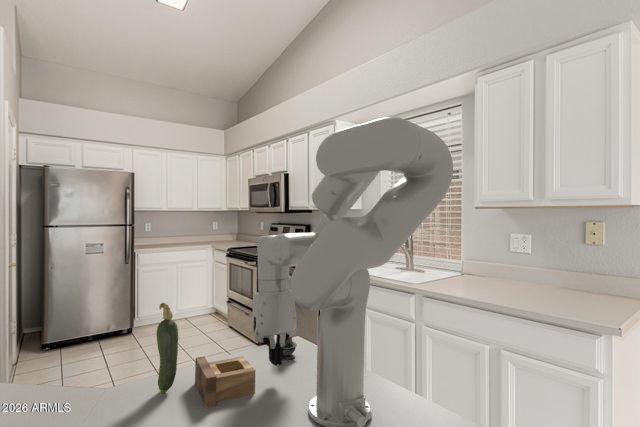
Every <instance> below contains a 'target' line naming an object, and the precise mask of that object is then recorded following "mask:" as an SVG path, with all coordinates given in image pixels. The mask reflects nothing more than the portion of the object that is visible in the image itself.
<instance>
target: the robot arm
mask: <svg viewBox="0 0 640 427" xmlns="http://www.w3.org/2000/svg"><path fill="white" fill-rule="evenodd" d="M315 162H316V166H317V169H318V170H319V171H320V173H321V174H322V175H324V176H323V177H322V179H321V181H320V182H318V183H319V184H318V185H317V186H316V187H315V189H314V190H313V192H312V194H311V201H312V203H313V205H314V206H315V208H316V209H317V211H319V213H321V214H322V216H321V218H320V220H319V222H318V223H317V224H316V226H315V227H314V228H313V229H312V230H311V232H290V233H289V232H287V233H280V234H274V235H273V234H272V235H271V234H270V235H269V234H268V235H262V236H259V238H257V244H256V245H257V247H256V248H257V282H258V283H257V285H258V286H257V287H258V288H257V289H258V292H257V291H256V292H254V298H253V304H252V313H251V314H252V315H251V316H252V317H251V329H252V332H253V341H254V342H255V343H263V344H265V345H266V346H267V347H268V360H269V362H270V363H271V364H272V365H273V366H274V367H276V366H281V365H282V364H283V361H282V359H283V347H284V345H285V342H286V341H287V340H288V338H289V337H292V338H293V337H294V336H296V335H297V325H298V324H297V311H296V304H297V305H298V306H299V307H300V308H302V309H303V310H307V311H311V312H313V311H320V314H319V317H318V323H317V348H316V349H317V350H316V352H317V353H316V354H317V355H316V356H317V357H316V395H315V396H314V397H313V398H312V399H311V400H310V401H309V403H308V414H309V416H310V418H311V419H312V420H313V421H314V422H315V423H317V424H318V425H320V426H323V427H365V425H366V423H367V422H368V421H369V420H370V419H371V418H372V416H373V414H372V407H371V405H370V404H369V402H368V401H367V399H366V396H365V395H364V391H365V390H364V387H365V386H364V385H365V382H364V380H365V379H364V377H365V376H364V374H365V333H366V332H365V331H366V330H365V329H366V314H367V313H366V311H367V305H368V299H369V295H370V288H371V277H370V272H369V270H370V269H375V268H378V267H381V266H383V265H385V264H387V263H388V262H389V261H390V260H391V259H392V258H393V256H394V255H395V254H396V253H397V252H398V251H399V250H400V249H401V247H402V246H403V245H404V244H405V243H406V242H407V241H408V240H409V238H411V236H412V235H413V234H414V233H415V231H416V230H417V229H418V228H419V227H420V226H421V224H422V223H423V222H424V221H425V220H426V219H427V218H428V216H430V215H431V213H432V212H434V210H435V209H436V208H437V207H438V205H439V204H440V203H441V202H442V201H443V199H444V197H445V196H446V194H447V193H448V192H449V189H450V186H451V184H452V181H453V175H454V162H453V157H452V155H451V152H450V149H449V147H448V146H447V144H446V143H445V141H444V140H443V139H442V138H441V137H440V136H439V135H438V134H436V133H435V132H433V131H432V130H429V129H427V128H425V127H423V126H420V125H418V124H416V123H414V122H412V121H410V120H407V119H405V118H402V117H396V116H387V117H382V118H378V119H374V120H370V121H366V122H364V123H361V124H360V123H359V124H357V125H353V126H350V127H346V128H344V129H343V128H342V129H340V130H337V131H334V132H332V133H331V134H329V135H328V136H327V137H325V138H324V139H323V140H322V142H321V143H320V145H319V146H318V148H317V151H316V156H315ZM382 171H387V172H394V173H397V174H403V176H402V178H401V179H400V180H399V181H397V183H395V184H394V185H393V186H392V187H389V189H388V190H387V191H385V192H384V193H383V194H382V195H381V197H380V198H379V200H378V201H377V202H376V203H375V205H374V206H373V207H372V208H371V209H370V211H368V212H367V213H366V214H365V215H362V216H346V215H347V214H348V213H349V211H351V209H352V208H353V206H354V205H355V204H356V203H357V202H358V201H359V199H360V197H362V195H363V194H364V192H366V190H367V189H368V188H369V186H370V185H371V184H372V183H373V182H374V180H375V179H376V177H377V176H378V175H379V173H380V172H382ZM291 267H295V268H294V270H293V272H292V274H291V277H290V268H291Z"/></svg>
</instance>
